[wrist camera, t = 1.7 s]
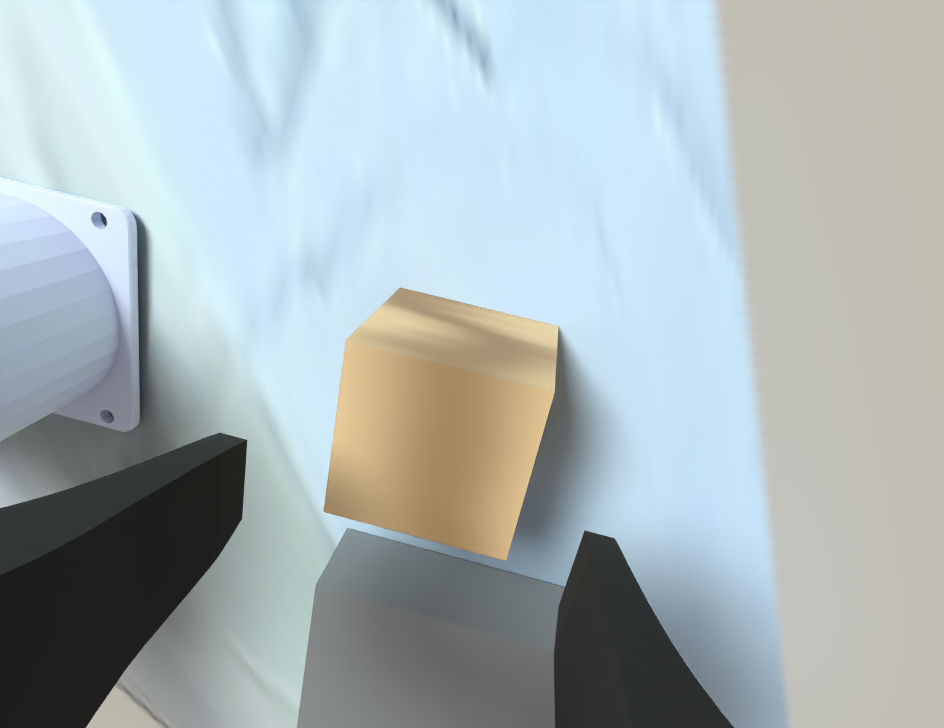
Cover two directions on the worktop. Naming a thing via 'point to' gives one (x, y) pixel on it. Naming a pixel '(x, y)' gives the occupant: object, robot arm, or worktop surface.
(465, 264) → the worktop surface
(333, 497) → the oak block
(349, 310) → the worktop surface
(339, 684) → the gray block
